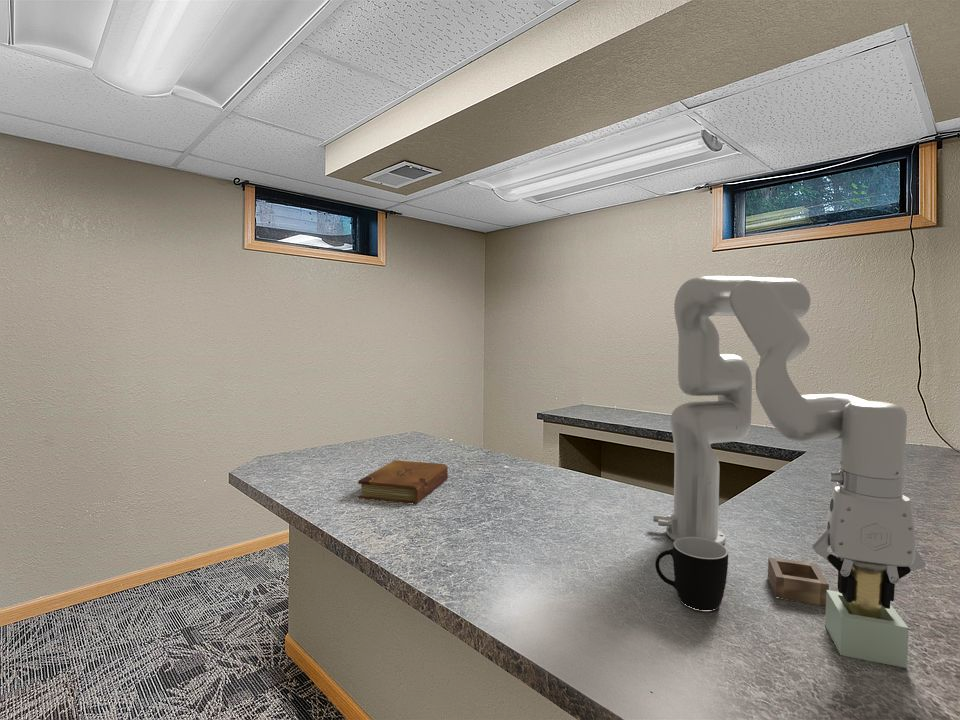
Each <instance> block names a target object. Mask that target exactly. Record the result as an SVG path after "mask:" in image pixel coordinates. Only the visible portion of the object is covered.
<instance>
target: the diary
mask: <svg viewBox="0 0 960 720" xmlns="http://www.w3.org/2000/svg"><path fill="white" fill-rule="evenodd" d="M448 473H449V471H448V466H447V464H446V463H436V462H435V463H434V462H424V461H423V462H421V461H409V460H397V459H395V460H393V461H391V462H389V463H388V464H386V465H384V466H382V467H380V468H378V469H377V470H375V471H374V472H371V473H370V474H368V475H366V476H364V477H363V478H360V479H359V480H357V482H358V485H361V495H359V496H358V499H362V498H365V500H371V499H374V500H373V501H380V500H384V501H383V502H389V501H393V502H392V503H398V502H403V503H402V504H407V503H413V504H412V505H417V503H418V504H419V503H420V502H421V501H423V500H422V499H425V498H426V497H428V496H429V495H430V494H432V492H433V490H434V491H435V490H436V489H437V488H438V487H440V486H441V485H443V483H445V482H446V481H447V480H448V477H449V475H448ZM444 481H445V482H444ZM428 494H429V495H428Z"/></svg>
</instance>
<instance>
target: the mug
mask: <svg viewBox="0 0 960 720" xmlns="http://www.w3.org/2000/svg"><path fill="white" fill-rule="evenodd" d="M665 556H670V557H672V560H673V561H672V563H673V576H674V580H671V579H670V578H668V577H666V575H664V573H663V572H662V570H661V568H660V562H661V560H662V558H663V557H665ZM654 564H655V566H654V567H655V571H656V573H657V575H658V576H659V578H660V579H661V580H662V581H663V582H665V584H667V585H668V586H671V587H672V588H674V589H675V590H676V593H677V596H678V599H679V600H680V602H681V601H682V602H683V603H684V604H686V605H687V606H690V607H692V608H695V609H699V610H713V609H716V608H717V609H718V608H719V607H720V606H721V604H722V601H723V598H724V594H725V589H726V584H727V577H728V566H729V550H728V549H727V547H726V546H724V544H723V545H721V544H720V543H718V542H715V541H713V540H709V539H705V538H700V537H682V538H679V539H677V540H675V541H673V544H672V548H671V549H665V550H663V551H661V552H660V553H659V554H658V555H657V557H656V559H655V563H654ZM682 602H681V603H682ZM683 603H682V604H683ZM684 604H683V605H684ZM687 606H686V607H687ZM717 609H716V610H717Z"/></svg>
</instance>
